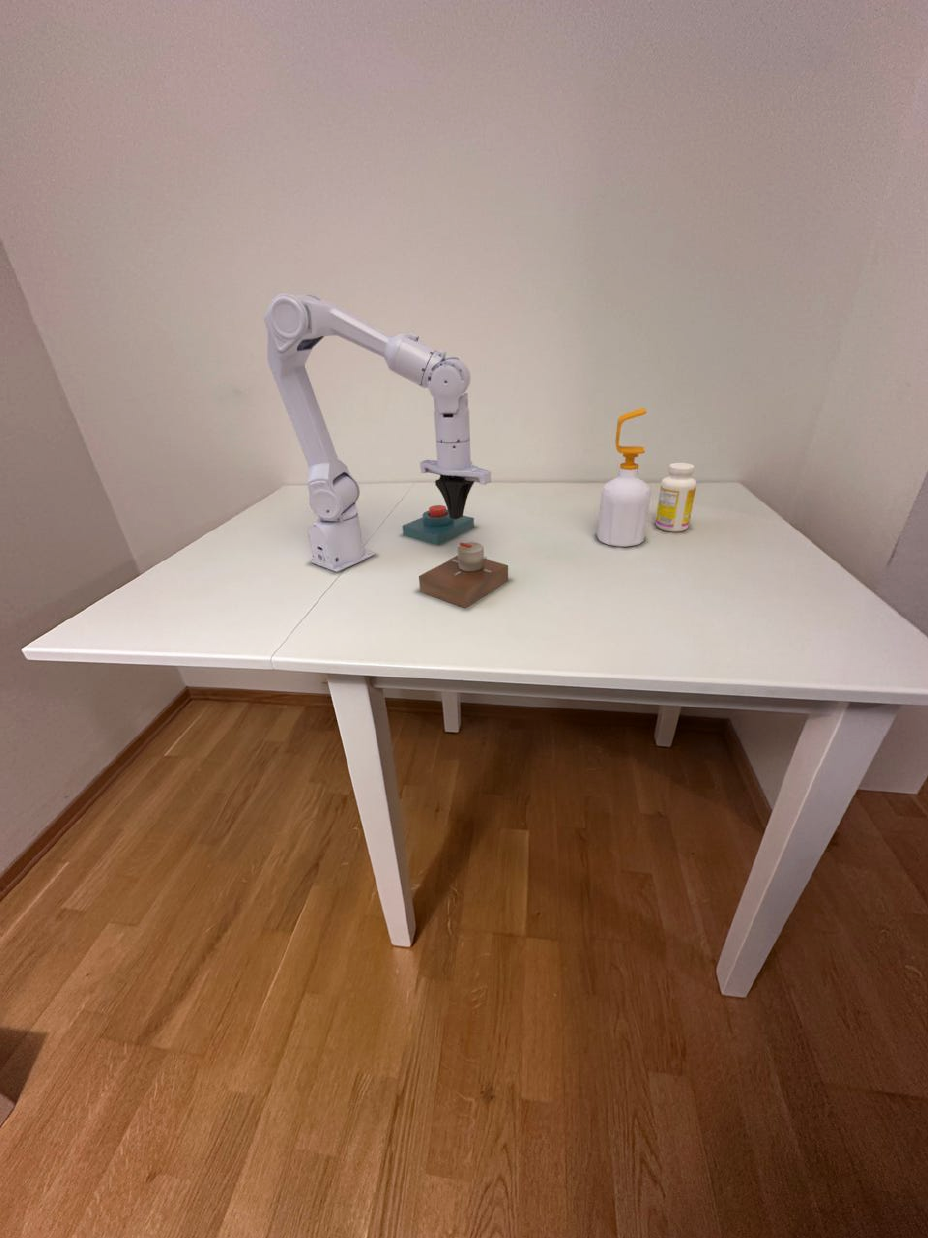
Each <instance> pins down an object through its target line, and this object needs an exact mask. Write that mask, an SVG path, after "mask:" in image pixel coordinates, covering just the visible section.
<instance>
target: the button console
mask: <svg viewBox="0 0 928 1238" xmlns="http://www.w3.org/2000/svg"><path fill="white" fill-rule="evenodd" d="M474 528H475V518H474V517H471V516H467V515H463V517H461V518H458V519H452V518H450V515H449V512H448V509H447V508H446V515H445V516H443V517H431V516H430V513H429V509H428V510H426V511H424V512H423V513H422V516H421V517H419V518H417V519H415V520H413V521H410V522H408V523H406V524H403V525H402V532H403V536H405V537H409V538H412V539H415V540H419V541H423V542H426V543H429V544H431V545H432V544H433V545H436V546H439V545H441V544H443V543H445V542H448V541H450V540H452V539H453V538H456V537H457V536H460V535H461V534H463V533H466V532H468V531H470V530H472V529H474Z"/></svg>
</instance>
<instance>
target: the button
mask: <svg viewBox="0 0 928 1238" xmlns="http://www.w3.org/2000/svg"><path fill="white" fill-rule="evenodd" d="M446 509H447V506H446V505H443V504H435V505H431V506H429V508H428V510H429V513H430V516H431V517H443V516H445V515H446Z"/></svg>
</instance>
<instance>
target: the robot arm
mask: <svg viewBox="0 0 928 1238" xmlns="http://www.w3.org/2000/svg"><path fill="white" fill-rule="evenodd" d="M263 321H264V325H265V326H266V330H267V343H266V344H267V345H266V347H267V352H266V354H267V355H266V357H267V363H268V366H269V368H270V369H269V370H270V371H271V374H272V377H273V379H274V381H275V384H276V387H277V389H278V392H279V394H280V397H281V399H282V402H283V404H284V408H285V410H286V412H287V414H288V417H289V420H290V422H291V425H292V427H293V430H294V432H295V435H296V437H297V441H298V443H299V446H300V448H301V450H302V453H303V455H304V458H305V462H306V463H307V465H308V472H307V473H308V474H307V479H306V485H307V488H308V492H309V500H308V501H309V506H310V509H311V510H312V512H313V513H314V515H316V517H318V519H317V520H316V521H315V522H313V523H312V524H310V525H309V526H308V530H307V531H308V532H307V534H308V539H309V540H308V541H309V546H310V549H311V553H312V559H311V563H313V564H314V565H318V566H319V567H323V568H325V569H327V570H330V571H333V572H334V573H335V572H336V573H338V572H341V571H343V570H345V569H347V568H349V567H351V566H354V565H356V564H358V563H360V562H362V561H365V560H367V559H369V558H371V557H373V556H375V553H374V552H372V551H369V550H366V549H364V544H363V538H362V531H361V530H362V529H361V525H360V518H359V517H360V516H359V511H358V508H357V503H356V502H358V500H359V498H360V495H361V489H360V485H359V483H358V481H357V480H356V479H355V478H354V477H353V476H352V474H351V473H350V471H349V468H348V466H347V464H345V462H343V461H342V460H341V459H340V458H339V457H338V455H337V452H336V449H335V446H334V444H333V441H332V438H331V434H330V432H329V430H328V427H327V424H326V422H325V418H324V416H323V413H322V410H321V408H320V405H319V402H318V399H317V396H316V394H315V391H314V389H313V386H312V383H311V380H310V377H309V374H308V372H307V368H306V364H307V361H308V359H309V357H310V355H311V353H312V350H313V349H314V347H316V346H317V344H318V343H320V342H321V341H322V340H323V339H324V338H325V337H330V336H331V337H332V336H333V337H334V336H337V337H340V338H342V339H344V340H346V341H348V342H350V343H352V344H354V345H357V346H358V347H361V348H363V349H365V350H367V351H369V352H371V353H374V354H376V355H378V356H379V357H382V358H384V362H385V364H386V365H387V367H388V370H389V371H391V372H392V373H394V374H396V375H399V376H401V377H402V378H404V379H406V380H408V381H410V382H412V383H414V384H415V385H418V386H419V387H421V388H423V389H427V388H428V390H429V393H430V395H431V396H432V397H433V407H434V408H433V409H434V411H433V417H434V432H435V434H434V435H435V448H436V460H434V459H425V460H422V461H419V467H420V474H421V473H422V474H427V473H429V474H433V475H439V479H438V478H437V479H435V481H434V485H435V486H436V487H437V489H438V491H439V493H440V494H441V496H442V498H443V500H444V503H445V507H446V509H447V510H448V512H449V515H450V518H452V519H458V518H461V517H463V516H464V512H465V506H466V503H467V500H468V496H469V495H470V494H469V493H470V491H471V489H472V487H473V486H474V484H475V482H476V483H479V485H482V486H483V485H484V486H485V485H488V484H490V483H492V471H491V470H489V469H485V468H483V467H480V466H477V465H474V464H473V461H471V433H470V432H471V430H470V429H471V428H470V410H469V409H470V408H469V398H468V395H469V394H468V392H467V390H468V389H469V387H470V383H471V372H470V369H469V367H468V366H467V365H466V364H465V362H463V361H462V360H461V358H459V357H457V356H447V357H446V355H447V351H445V350H443V349H441V348H440V349H439V350H437V349H435V348H433V347H431V346H429V345H426V344H425V343H424V342H421V341H419V339H420V336H419V335H417V334H416V333H414V332H409V334H406V333H405V332H402V333H399V334H397V335H394V336H391V335H389V334H388V333H386V332H385V331H383V330H381V329H379V328H378V327H376V326H374V325H372V324H371V323H370V322H367V321H365V320H364V319H363V318H361V317H358V316H357V315H355V314H353V313H352V312H351V311H348V310H347V309H345V308H344V307H342V306H340V305H338V304H335V303H334V302H331V301H329V300H323V299H321V298H320V297H318V296H317V295H313V294H305V295H298V294H297V295H295V294H290V293H280V294H277V295H276V296H274V297H273V298H272V299H271V301H270V303H269V305H268V307H267V309H266V311H265V314H264V316H263Z"/></svg>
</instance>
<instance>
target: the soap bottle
mask: <svg viewBox="0 0 928 1238" xmlns="http://www.w3.org/2000/svg"><path fill="white" fill-rule="evenodd" d="M646 414H647V410H646V408H645V407H643V408H639V409H636V410H633V411H629V412H626V413H623V414H621V415H620V416H619V418H618V419H617V424H616V432H615V441H614V442H615V448H616V451H617V452H618V453H619V454H622V457H623V458H624V462H622V463H620V465H619V471H618V472H619V473H618V475H617V476H616V477H614V478H613V479H610V480H609V481H608V482H607V483H605V484H604V486H603V488H602V490H601V493H600V503H599V513H598V523H597V534H596V537H597V539H598V540H599V541H600V542H601V543H603V544H604V545H608V546H611V547H619V548H628V547H634V546H638V545H640V544H641V543H642V542H644V539H645V534H646V527H647V521H648V520H647V519H648V514H649V508H650V507H649V506H650V499H651V494H652V491H651V488H650V486H649V485H648V484H647V483H646V482H645V481H644V480H642V479H640V477H638V472H639V463H635V461H636V460H635V459H636V458H638V457H639V454H640V455H642V454H645V452H646V451H645V450H646V449H645V447H644V446H634V445H632V446H631V445H630V446H628V445H627V446H626V445H625V446H624V445H623V446H622V445H620V437H621V429H622V425H623V423H624V422H626V421H628V420H631V419H634V418H637V417H640V416H644V415H646Z"/></svg>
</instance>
